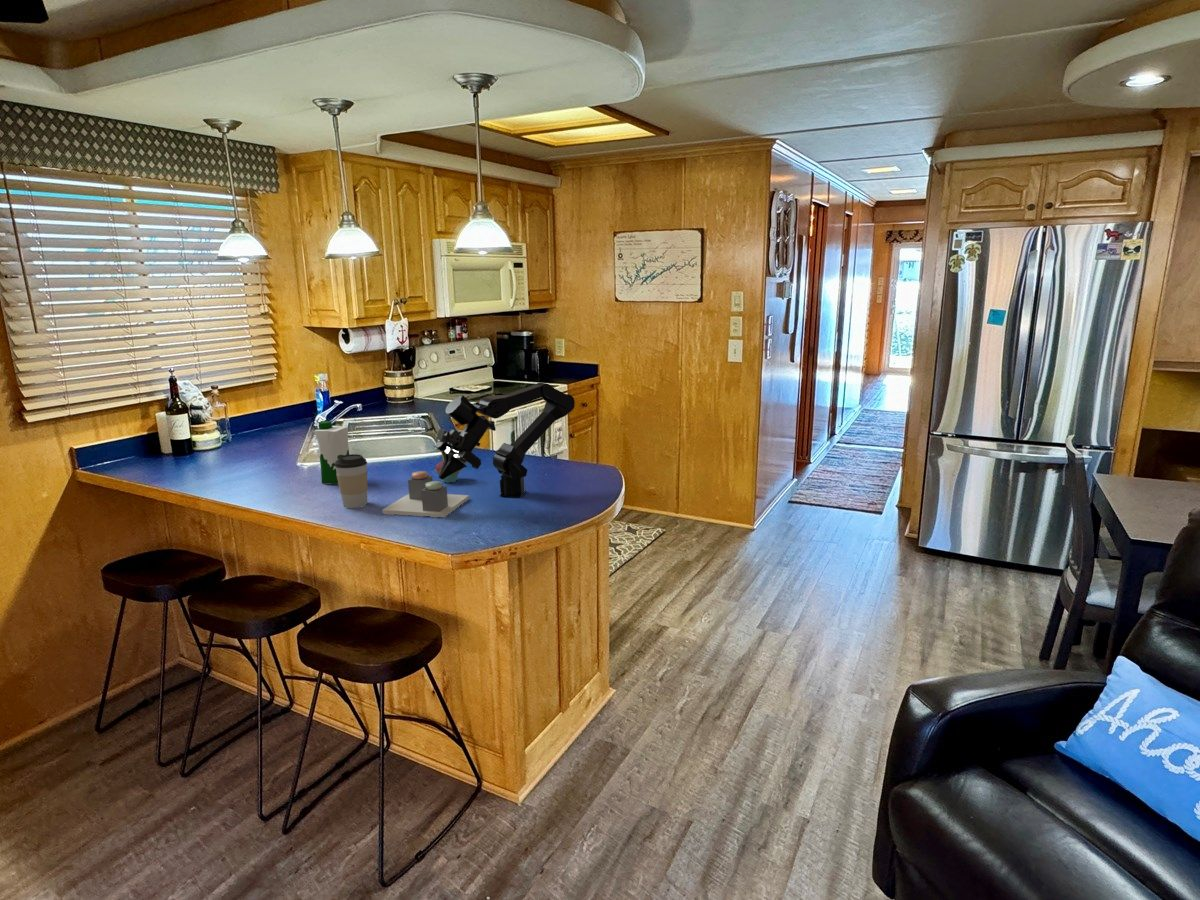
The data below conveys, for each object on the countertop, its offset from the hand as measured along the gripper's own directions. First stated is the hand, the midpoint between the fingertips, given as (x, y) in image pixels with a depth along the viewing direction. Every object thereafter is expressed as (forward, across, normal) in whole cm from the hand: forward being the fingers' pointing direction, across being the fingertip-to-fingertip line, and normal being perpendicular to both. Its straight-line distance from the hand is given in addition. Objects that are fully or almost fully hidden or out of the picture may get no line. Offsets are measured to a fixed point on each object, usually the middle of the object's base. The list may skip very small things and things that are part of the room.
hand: (440, 478), depth 196 cm
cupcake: (-3, -27, +18) cm, 32 cm away
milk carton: (+16, -51, -3) cm, 54 cm away
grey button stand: (+8, -7, +5) cm, 12 cm away
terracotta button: (+6, -13, +5) cm, 15 cm away
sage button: (+7, 0, +4) cm, 8 cm away
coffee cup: (+19, -22, -6) cm, 30 cm away
